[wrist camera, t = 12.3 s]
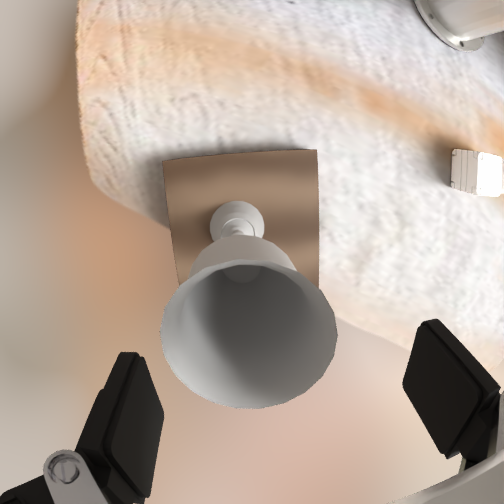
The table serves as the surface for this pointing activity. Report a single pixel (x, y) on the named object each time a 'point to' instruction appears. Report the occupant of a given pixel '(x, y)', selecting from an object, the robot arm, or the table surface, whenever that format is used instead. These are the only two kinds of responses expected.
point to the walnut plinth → (250, 191)
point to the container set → (477, 173)
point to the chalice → (247, 319)
